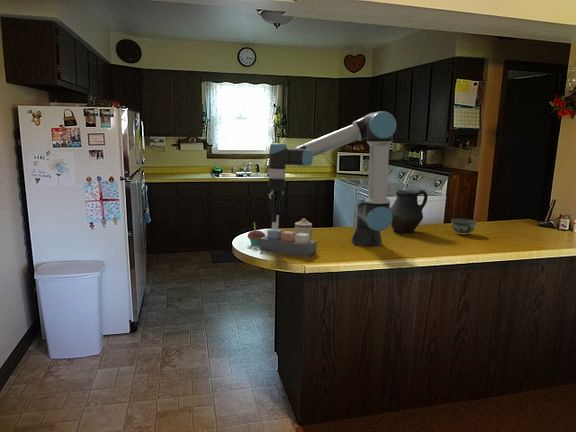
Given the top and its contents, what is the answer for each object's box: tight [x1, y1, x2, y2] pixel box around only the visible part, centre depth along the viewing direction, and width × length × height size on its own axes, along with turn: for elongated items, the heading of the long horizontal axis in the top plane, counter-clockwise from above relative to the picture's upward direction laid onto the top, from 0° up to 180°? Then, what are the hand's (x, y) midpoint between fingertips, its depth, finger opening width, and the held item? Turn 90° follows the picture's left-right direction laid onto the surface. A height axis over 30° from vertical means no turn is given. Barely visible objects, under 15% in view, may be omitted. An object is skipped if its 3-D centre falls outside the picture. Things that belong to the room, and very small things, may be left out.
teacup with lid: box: [294, 218, 313, 240], centre depth 223 cm, size 12×9×12 cm
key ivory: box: [295, 233, 310, 245], centre depth 198 cm, size 5×5×5 cm
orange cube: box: [281, 230, 296, 242], centre depth 201 cm, size 5×5×5 cm
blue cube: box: [267, 228, 283, 240], centre depth 204 cm, size 5×5×5 cm
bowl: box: [451, 217, 477, 234], centre depth 254 cm, size 14×13×8 cm
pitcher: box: [390, 189, 428, 234], centre depth 253 cm, size 21×22×25 cm
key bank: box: [259, 235, 318, 259], centre depth 202 cm, size 24×10×6 cm, turn 64°
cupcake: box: [247, 221, 266, 247], centre depth 211 cm, size 9×8×12 cm
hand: (275, 228), depth 203 cm, fingers closed
